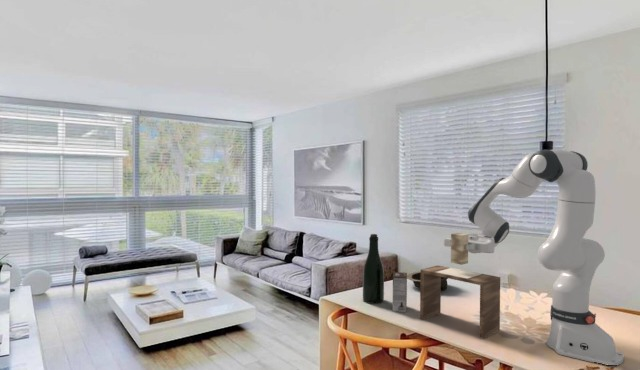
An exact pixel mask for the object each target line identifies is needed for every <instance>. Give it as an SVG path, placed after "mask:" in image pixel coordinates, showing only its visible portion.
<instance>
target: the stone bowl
mask: <svg viewBox="0 0 640 370" xmlns="http://www.w3.org/2000/svg"><path fill="white" fill-rule="evenodd" d="M420 274H421V270H418V271H414V272H411V273H407V280H409V281H411V282H412V283H413V285H414V287H415V288H419V289H420ZM448 279H449V278H444V277H441V291H446V290H447V288H448Z"/></svg>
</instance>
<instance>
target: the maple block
mask: <svg viewBox="0 0 640 370" xmlns="http://www.w3.org/2000/svg"><path fill="white" fill-rule="evenodd" d="M469 234H470V233H462V232H453V233H451V234H450V237H451V247H450V264H456V265H459V266H460V265H462V266H463V265H465V264H468V263H469V251H468V250H467V249H464V245H468V235H469Z"/></svg>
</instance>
